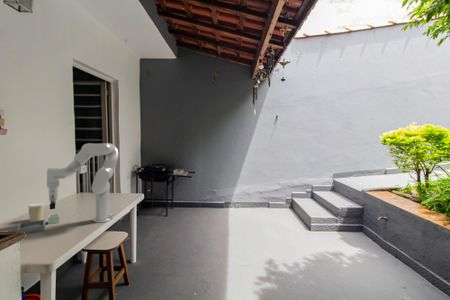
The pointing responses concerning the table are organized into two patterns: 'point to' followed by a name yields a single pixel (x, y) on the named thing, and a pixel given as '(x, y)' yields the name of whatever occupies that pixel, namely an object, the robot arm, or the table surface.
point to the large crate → (31, 226)
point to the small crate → (53, 218)
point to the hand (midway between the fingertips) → (52, 207)
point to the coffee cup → (36, 211)
